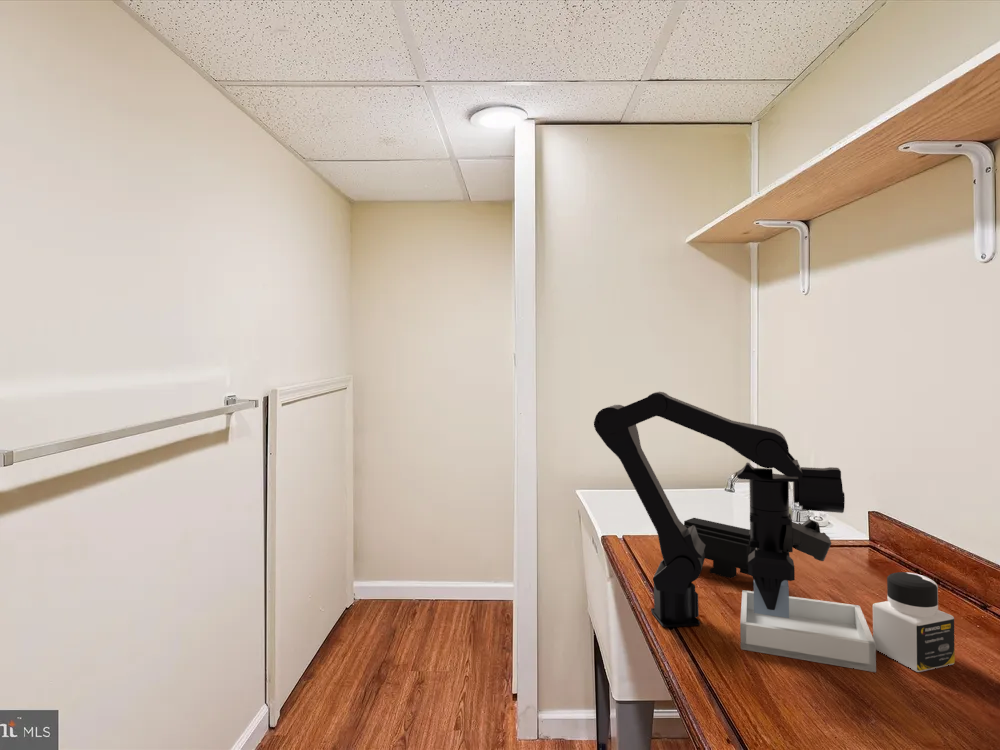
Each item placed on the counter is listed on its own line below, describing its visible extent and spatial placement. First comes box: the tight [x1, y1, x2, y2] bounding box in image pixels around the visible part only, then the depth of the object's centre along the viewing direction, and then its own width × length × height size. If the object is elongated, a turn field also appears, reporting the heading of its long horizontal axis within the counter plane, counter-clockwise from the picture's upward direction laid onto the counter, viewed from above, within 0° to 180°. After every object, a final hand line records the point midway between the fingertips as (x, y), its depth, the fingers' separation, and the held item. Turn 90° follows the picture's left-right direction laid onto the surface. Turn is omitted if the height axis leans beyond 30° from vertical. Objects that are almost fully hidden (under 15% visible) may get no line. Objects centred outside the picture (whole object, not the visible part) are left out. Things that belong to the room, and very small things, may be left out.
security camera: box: [683, 517, 754, 586], centre depth 116 cm, size 7×18×10 cm, turn 39°
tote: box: [739, 589, 877, 673], centre depth 89 cm, size 18×14×4 cm
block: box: [753, 580, 790, 618], centre depth 91 cm, size 5×5×5 cm
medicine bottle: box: [872, 571, 956, 673], centre depth 83 cm, size 7×7×12 cm
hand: (770, 602), depth 91 cm, fingers closed on block, 5 cm apart
